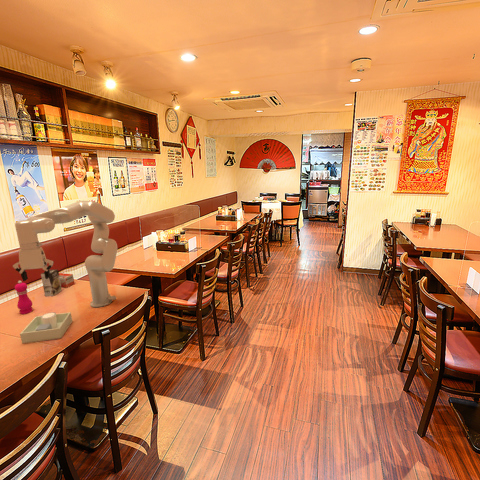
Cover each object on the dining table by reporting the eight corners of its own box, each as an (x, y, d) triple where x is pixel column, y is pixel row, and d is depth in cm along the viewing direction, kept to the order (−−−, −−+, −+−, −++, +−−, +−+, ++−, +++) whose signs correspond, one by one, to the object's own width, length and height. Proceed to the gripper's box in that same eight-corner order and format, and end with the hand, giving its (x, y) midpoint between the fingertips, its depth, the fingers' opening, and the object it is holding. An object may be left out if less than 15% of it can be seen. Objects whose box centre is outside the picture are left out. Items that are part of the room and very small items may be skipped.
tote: (72, 321, 159) (70, 312, 157) (61, 338, 142) (59, 328, 141) (37, 325, 155) (35, 316, 153) (22, 343, 139) (19, 333, 137)
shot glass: (47, 331, 147) (44, 319, 146) (40, 328, 151) (38, 316, 149) (60, 325, 153) (58, 314, 151) (54, 322, 157) (52, 311, 155)
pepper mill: (25, 315, 166) (18, 283, 162) (15, 314, 168) (8, 282, 163) (36, 309, 173) (30, 278, 168) (27, 308, 175) (20, 278, 170)
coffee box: (54, 296, 191) (49, 273, 187) (44, 296, 191) (40, 274, 187) (62, 290, 200) (58, 269, 196) (53, 290, 200) (49, 269, 196)
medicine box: (49, 286, 207) (47, 276, 205) (58, 282, 215) (56, 272, 213) (66, 288, 204) (64, 278, 202) (75, 284, 212) (73, 274, 210)
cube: (52, 332, 147) (50, 323, 146) (48, 337, 142) (46, 328, 141) (42, 333, 146) (40, 324, 145) (37, 338, 141) (35, 330, 140)
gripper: (52, 242, 141) (59, 274, 145) (13, 245, 137) (20, 278, 141) (46, 246, 134) (53, 280, 138) (4, 249, 130) (12, 284, 134)
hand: (36, 279), depth 140 cm, fingers open, 9 cm apart
